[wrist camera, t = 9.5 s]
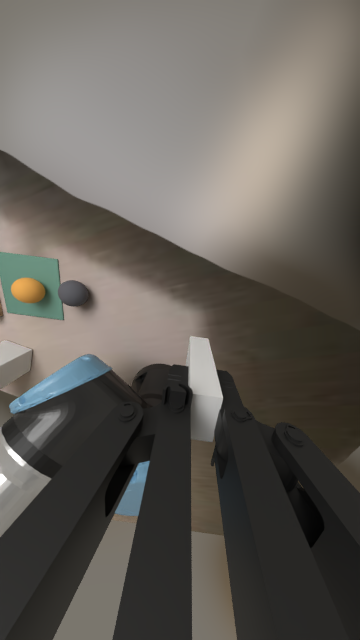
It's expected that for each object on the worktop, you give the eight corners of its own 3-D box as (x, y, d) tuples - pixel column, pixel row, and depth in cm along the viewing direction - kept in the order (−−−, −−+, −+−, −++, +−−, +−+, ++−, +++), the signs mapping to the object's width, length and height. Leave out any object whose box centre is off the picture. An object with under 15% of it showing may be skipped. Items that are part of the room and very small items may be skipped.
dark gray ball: (57, 309, 33) (58, 301, 37) (88, 310, 36) (86, 302, 40) (56, 282, 31) (58, 276, 35) (89, 285, 34) (87, 279, 38)
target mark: (63, 319, 40) (63, 320, 40) (8, 312, 41) (7, 312, 41) (57, 259, 36) (57, 259, 36) (-4, 251, 37) (-5, 251, 36)
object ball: (30, 307, 34) (7, 304, 35) (53, 301, 39) (32, 299, 40) (24, 280, 32) (-1, 277, 33) (49, 277, 37) (27, 275, 38)
